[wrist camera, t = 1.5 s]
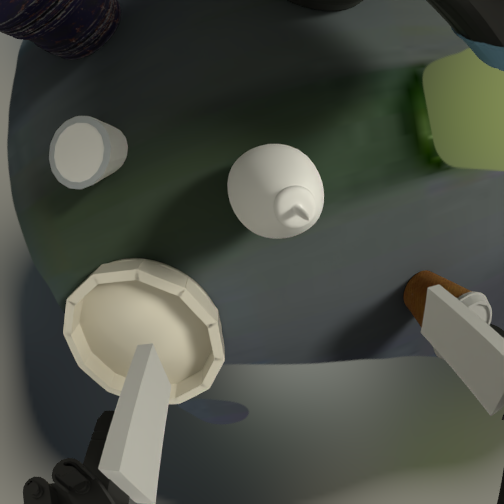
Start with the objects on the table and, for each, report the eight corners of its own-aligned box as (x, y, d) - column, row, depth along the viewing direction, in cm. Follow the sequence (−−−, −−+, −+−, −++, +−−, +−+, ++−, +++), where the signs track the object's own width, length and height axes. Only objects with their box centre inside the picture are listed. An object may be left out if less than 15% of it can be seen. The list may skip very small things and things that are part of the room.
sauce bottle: (288, 136, 30) (360, 127, 14) (306, 204, 33) (384, 264, 16) (217, 156, 31) (209, 167, 14) (239, 224, 33) (256, 307, 16)
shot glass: (69, 156, 29) (37, 160, 22) (104, 108, 27) (76, 101, 21) (108, 192, 31) (81, 204, 24) (145, 145, 29) (125, 144, 23)
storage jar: (39, 37, 22) (-31, 6, 8) (95, -18, 21) (45, -73, 7) (76, 75, 25) (-1, 46, 11) (138, 15, 24) (92, -50, 10)
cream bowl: (57, 267, 33) (42, 280, 29) (208, 247, 34) (206, 260, 30) (105, 385, 40) (98, 403, 36) (231, 380, 41) (233, 400, 37)
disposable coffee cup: (390, 324, 40) (431, 374, 29) (397, 265, 37) (449, 308, 26) (438, 310, 41) (482, 351, 29) (447, 255, 37) (501, 289, 26)
